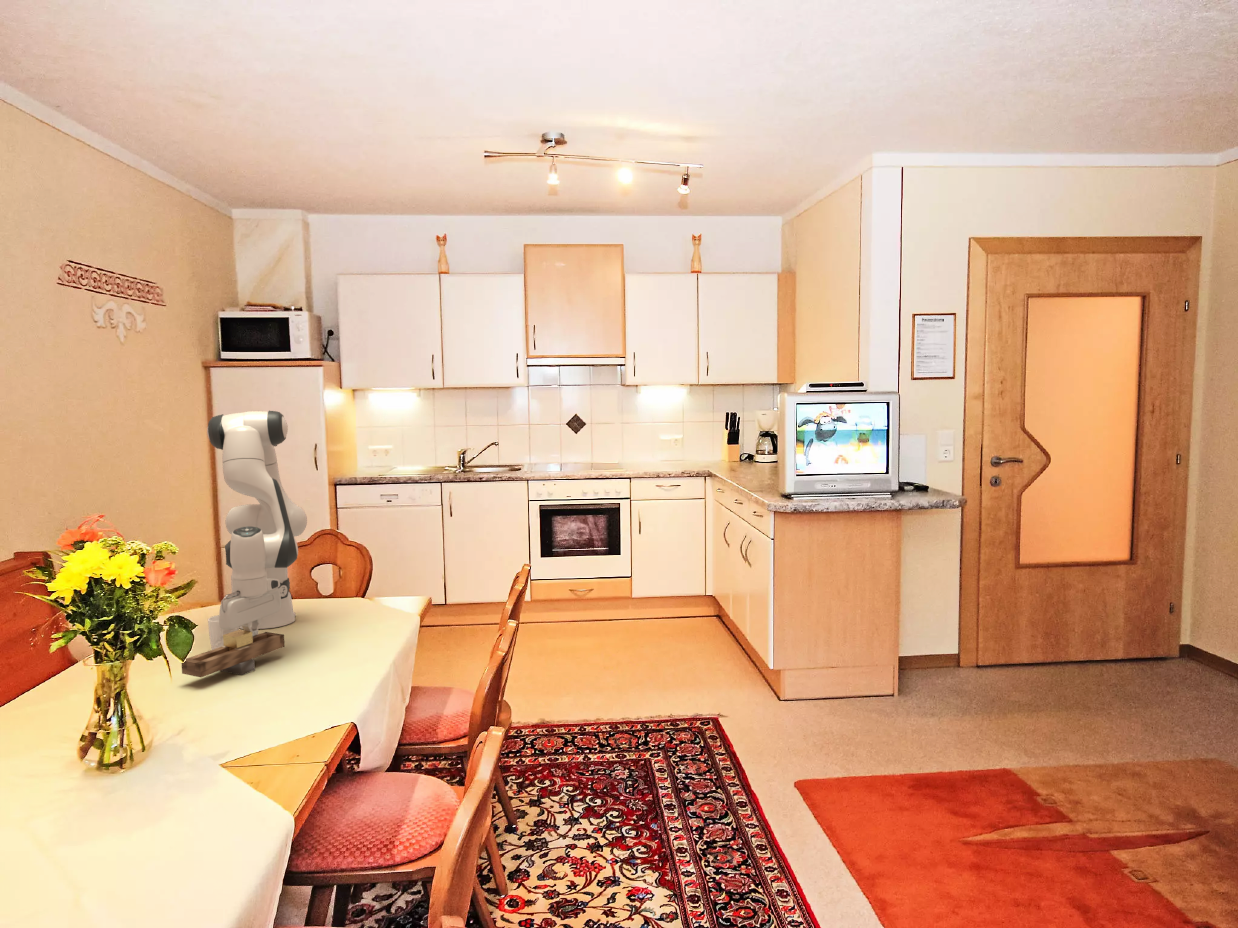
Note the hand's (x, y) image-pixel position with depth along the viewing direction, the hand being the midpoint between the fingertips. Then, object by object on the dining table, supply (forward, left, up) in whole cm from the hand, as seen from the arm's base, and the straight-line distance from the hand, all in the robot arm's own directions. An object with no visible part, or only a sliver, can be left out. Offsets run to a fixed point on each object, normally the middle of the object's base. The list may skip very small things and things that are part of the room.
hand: (252, 636), depth 210 cm
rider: (0, -4, -3) cm, 5 cm away
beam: (0, -5, -8) cm, 9 cm away
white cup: (-17, +5, -8) cm, 20 cm away
